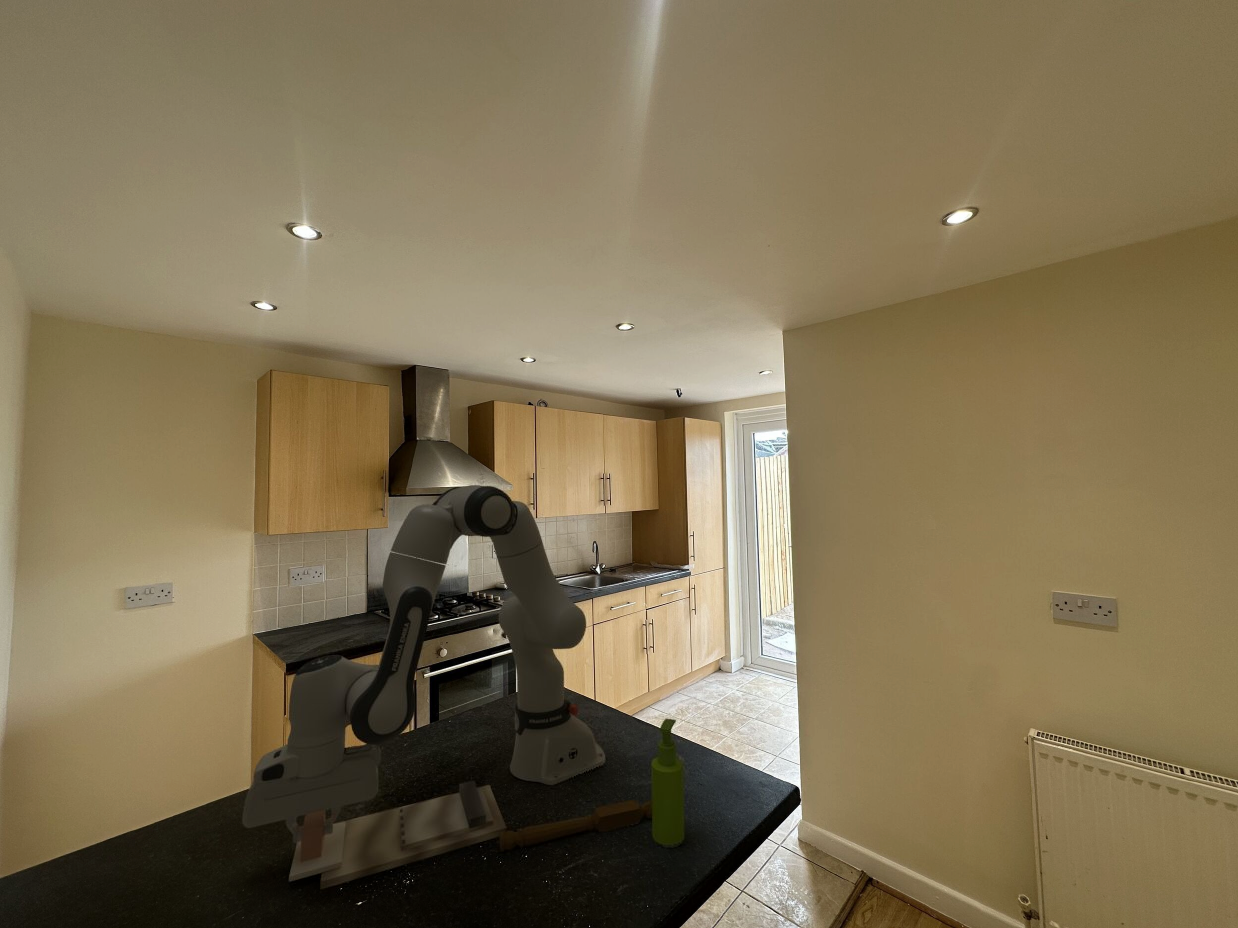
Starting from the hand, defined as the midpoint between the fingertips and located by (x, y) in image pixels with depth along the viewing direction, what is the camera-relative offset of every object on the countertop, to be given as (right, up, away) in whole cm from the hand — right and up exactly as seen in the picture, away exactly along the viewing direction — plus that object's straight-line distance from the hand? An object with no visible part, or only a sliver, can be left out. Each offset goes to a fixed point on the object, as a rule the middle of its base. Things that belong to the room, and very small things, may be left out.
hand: (313, 836), depth 87 cm
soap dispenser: (+63, -4, +5) cm, 63 cm away
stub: (+1, -3, 0) cm, 3 cm away
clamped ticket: (+15, -5, +7) cm, 17 cm away
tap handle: (+46, -5, +7) cm, 47 cm away
